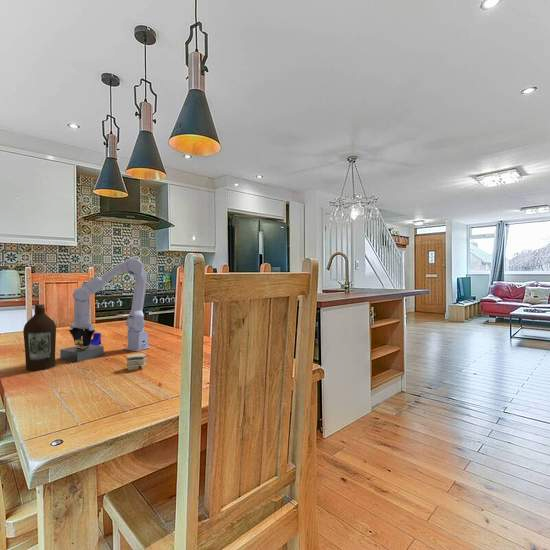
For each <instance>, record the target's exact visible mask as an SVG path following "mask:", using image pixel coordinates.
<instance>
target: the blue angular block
mask: <svg viewBox="0 0 550 550" xmlns="http://www.w3.org/2000/svg"><path fill="white" fill-rule="evenodd" d="M90 344H91V345H97V346H101V344H102V334H101V332H94V333H93V335H92V338H91V341H90Z"/></svg>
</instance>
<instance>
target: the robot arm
mask: <svg viewBox="0 0 550 550" xmlns="http://www.w3.org/2000/svg"><path fill="white" fill-rule="evenodd" d="M126 272H127V273H129V274H130V275H131V276H132V277H134V288H133V296H132V303H131V310H130V311H129V314H128V317H127V319H126V321H125V323H126V324H125V325H126V326H127V327H128V328H127V347H123V350H126V351H133V352H139V351H143V350H146V349H150V348H151V346H149V345H150V344H149V334H148V333H147V332H146V331H144V328H145V326H146V322H145V319H144V318H145V315H144V312H143V310H144V303H145V296H146V288H147V282H148V281H147V279H148V275H147V272H146V269H145V267H144V264H143V262H142V261H140V259H138V258H126V259H125V260H124V261H121V262H119V263H117V264H116V265H114V266H113V267H112V268H109V270H108V271H106V272H105V273H103V274H102V275H101V276H91V277H90V280H88V281H87V282H86V283H84V284H81V285H80V287H77V288H76V289H74V291H73V293H72V298H73V299H74V301H73V303H74V305H73V312H74V313H73V317H74V318H73V319H74V321H73V322H74V323H73V322H72V323H69V330H68V331H69V332H68V333H70V335H71V337H72V339H73V342H74V343H75V340H76V339H81V338H83V345H84V346H89V344H90V341H91V339H92V338H93V334H94V333H96V330H95V325H94V324H90V303H89V299H90V298H91V296H93V295H94V294H96V293H97V292H98V291H100V290H101V289H103V288H104V287H105V285H106V283H107V282H108V281H109V280H111V279H112V278H114V277H116V276H117V275H119V274H120V273H126Z"/></svg>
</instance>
